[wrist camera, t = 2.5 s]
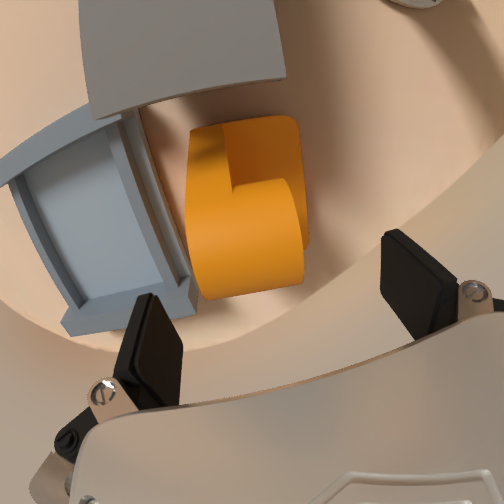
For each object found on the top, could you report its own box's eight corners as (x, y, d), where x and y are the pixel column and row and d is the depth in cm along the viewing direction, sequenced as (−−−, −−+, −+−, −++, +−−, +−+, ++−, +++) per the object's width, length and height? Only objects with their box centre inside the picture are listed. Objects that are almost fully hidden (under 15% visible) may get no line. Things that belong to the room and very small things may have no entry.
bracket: (301, 236, 25) (352, 331, 15) (220, 250, 25) (222, 357, 14) (288, 113, 20) (356, 122, 9) (194, 128, 20) (160, 152, 9)
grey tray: (133, 92, 17) (114, 90, 14) (198, 285, 26) (196, 314, 23) (11, 159, 18) (-15, 171, 14) (83, 310, 27) (70, 336, 23)
